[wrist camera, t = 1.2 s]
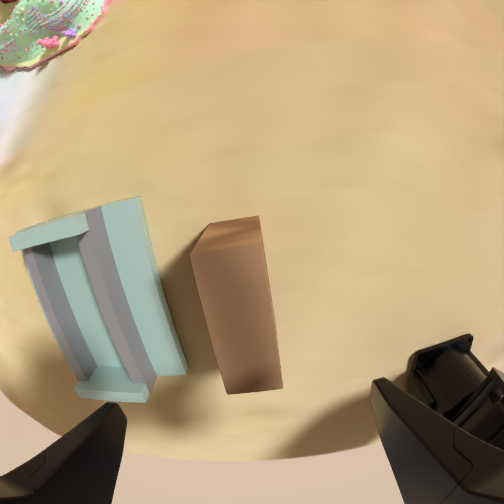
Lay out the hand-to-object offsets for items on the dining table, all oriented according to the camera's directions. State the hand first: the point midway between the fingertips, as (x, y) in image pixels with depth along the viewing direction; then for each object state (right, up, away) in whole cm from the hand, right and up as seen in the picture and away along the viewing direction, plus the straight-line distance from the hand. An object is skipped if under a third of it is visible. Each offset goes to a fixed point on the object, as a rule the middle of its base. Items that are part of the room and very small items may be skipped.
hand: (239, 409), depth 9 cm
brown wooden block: (0, +3, +10) cm, 11 cm away
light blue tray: (-11, +2, +11) cm, 15 cm away
